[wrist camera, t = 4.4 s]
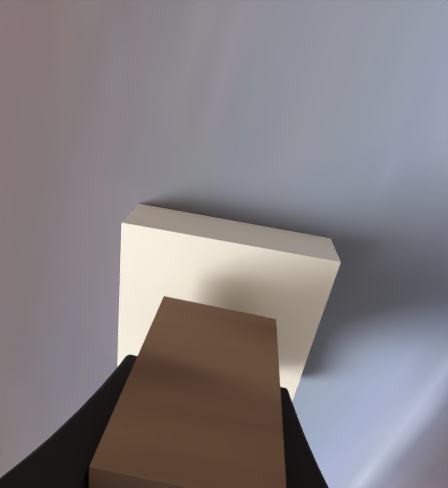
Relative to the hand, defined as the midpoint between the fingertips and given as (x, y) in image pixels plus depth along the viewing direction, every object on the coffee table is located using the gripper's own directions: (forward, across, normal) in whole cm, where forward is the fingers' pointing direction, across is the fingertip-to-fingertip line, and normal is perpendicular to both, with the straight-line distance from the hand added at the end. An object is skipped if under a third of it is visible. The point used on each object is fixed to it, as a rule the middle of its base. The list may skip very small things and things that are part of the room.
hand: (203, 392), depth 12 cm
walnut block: (+2, 0, 0) cm, 2 cm away
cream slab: (+6, 0, 0) cm, 6 cm away
